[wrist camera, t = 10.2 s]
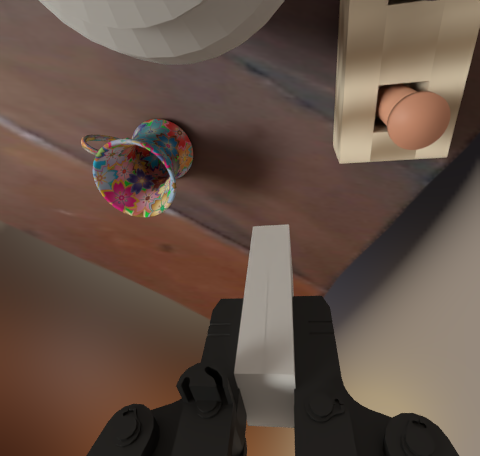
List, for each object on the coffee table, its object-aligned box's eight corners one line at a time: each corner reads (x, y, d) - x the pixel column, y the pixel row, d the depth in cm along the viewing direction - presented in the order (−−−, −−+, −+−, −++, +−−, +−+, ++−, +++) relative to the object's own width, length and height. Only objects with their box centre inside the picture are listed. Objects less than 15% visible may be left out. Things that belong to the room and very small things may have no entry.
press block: (344, -92, 28) (356, -116, 23) (479, -117, 27) (524, -149, 22) (332, 145, 40) (339, 163, 35) (426, 139, 38) (446, 157, 34)
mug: (209, 137, 42) (189, 169, 33) (181, 190, 47) (157, 230, 38) (124, 87, 39) (78, 107, 31) (105, 148, 44) (60, 180, 36)
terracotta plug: (369, 79, 33) (393, 95, 26) (418, 74, 33) (457, 89, 25) (365, 124, 36) (385, 151, 29) (410, 121, 35) (443, 148, 28)
